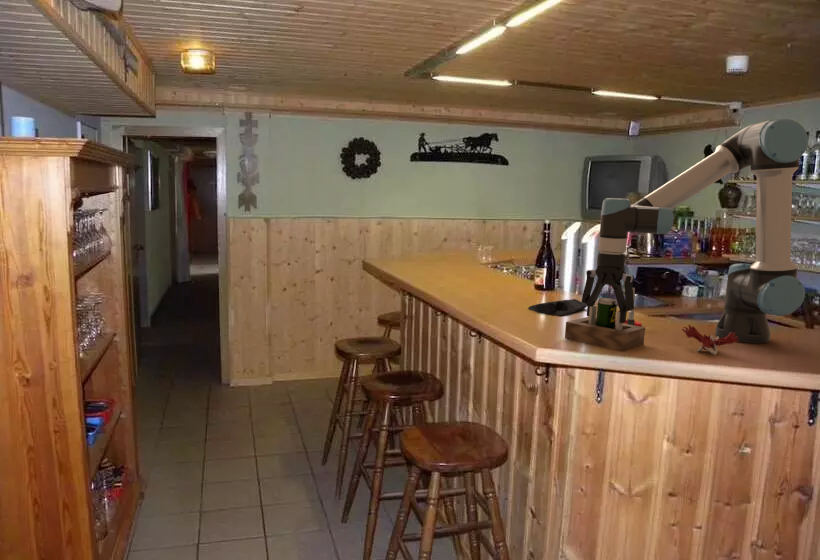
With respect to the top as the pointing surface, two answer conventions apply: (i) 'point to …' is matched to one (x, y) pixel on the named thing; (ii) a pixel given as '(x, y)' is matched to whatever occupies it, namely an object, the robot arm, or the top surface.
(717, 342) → the figurine
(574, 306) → the dark slate chunk
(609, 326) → the beer can
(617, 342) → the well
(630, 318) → the grey and red post
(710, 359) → the top surface
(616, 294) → the robot arm
